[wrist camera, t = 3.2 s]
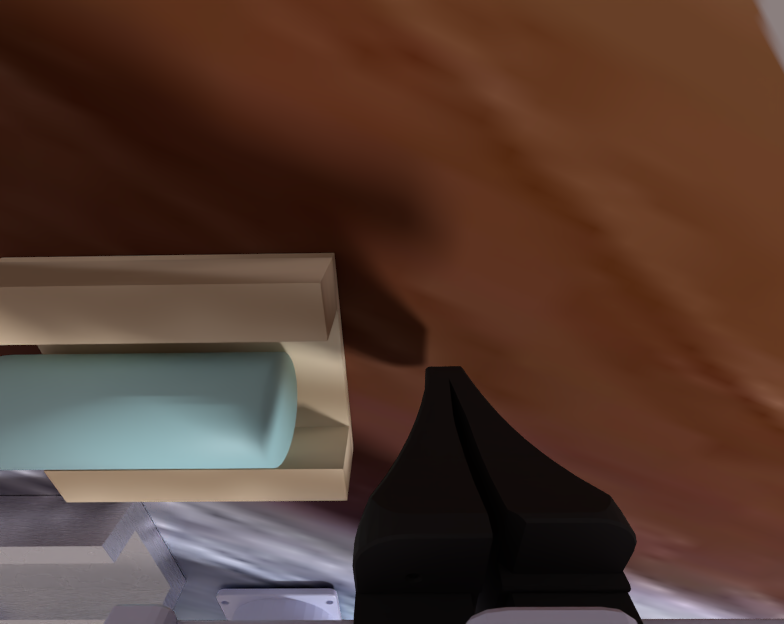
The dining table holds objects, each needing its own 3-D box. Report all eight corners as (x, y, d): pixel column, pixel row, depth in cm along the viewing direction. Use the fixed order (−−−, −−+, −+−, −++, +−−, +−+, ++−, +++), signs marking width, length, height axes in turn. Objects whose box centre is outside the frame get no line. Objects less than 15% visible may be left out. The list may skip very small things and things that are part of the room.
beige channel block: (353, 448, 17) (346, 500, 15) (111, 450, 17) (66, 502, 15) (334, 252, 12) (320, 282, 10) (2, 257, 12) (-90, 288, 10)
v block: (186, 581, 23) (163, 631, 21) (7, 581, 23) (-35, 631, 21) (137, 495, 19) (101, 546, 17) (-81, 496, 19) (-146, 547, 17)
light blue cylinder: (288, 331, 13) (250, 401, 10) (301, 411, 15) (273, 494, 12) (32, 334, 14) (-97, 404, 10) (76, 413, 15) (-21, 496, 12)
